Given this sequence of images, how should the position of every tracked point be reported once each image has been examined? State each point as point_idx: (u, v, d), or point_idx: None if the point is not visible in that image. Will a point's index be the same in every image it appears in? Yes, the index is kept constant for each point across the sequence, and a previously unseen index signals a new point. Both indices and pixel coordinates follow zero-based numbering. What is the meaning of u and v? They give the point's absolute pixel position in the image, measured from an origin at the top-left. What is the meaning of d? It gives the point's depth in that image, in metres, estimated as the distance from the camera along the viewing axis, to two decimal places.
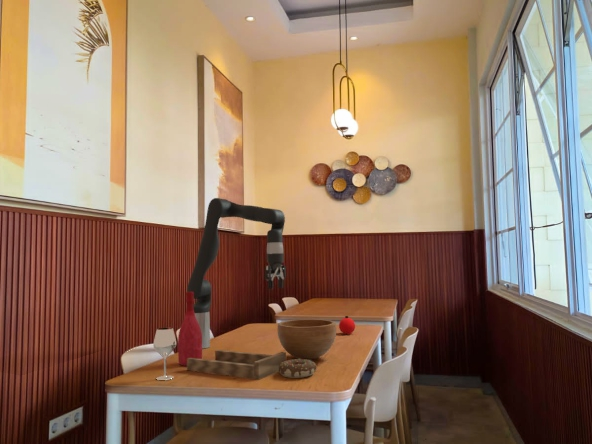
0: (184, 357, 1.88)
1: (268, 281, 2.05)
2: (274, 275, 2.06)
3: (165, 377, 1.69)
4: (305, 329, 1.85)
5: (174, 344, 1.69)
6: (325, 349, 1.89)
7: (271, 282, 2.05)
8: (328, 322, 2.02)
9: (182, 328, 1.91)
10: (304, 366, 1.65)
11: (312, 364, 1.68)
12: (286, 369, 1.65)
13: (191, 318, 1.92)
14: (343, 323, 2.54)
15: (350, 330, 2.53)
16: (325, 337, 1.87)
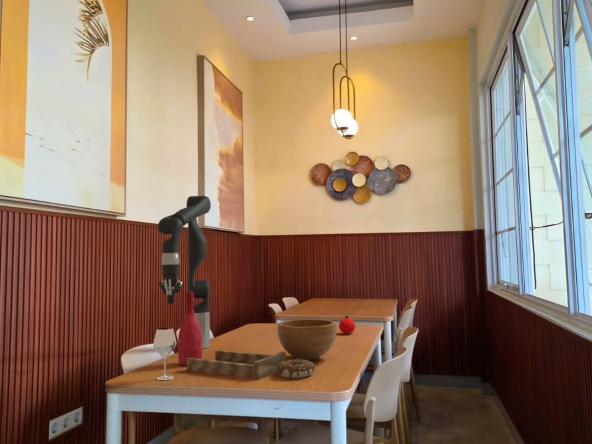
0: (184, 357, 1.88)
1: (172, 295, 1.99)
2: None
3: (165, 377, 1.69)
4: (305, 329, 1.85)
5: (174, 344, 1.69)
6: (325, 349, 1.89)
7: None
8: (328, 322, 2.02)
9: (182, 328, 1.91)
10: (302, 366, 1.65)
11: (310, 364, 1.68)
12: (284, 369, 1.65)
13: (191, 318, 1.92)
14: (343, 323, 2.54)
15: (350, 330, 2.53)
16: (325, 337, 1.87)
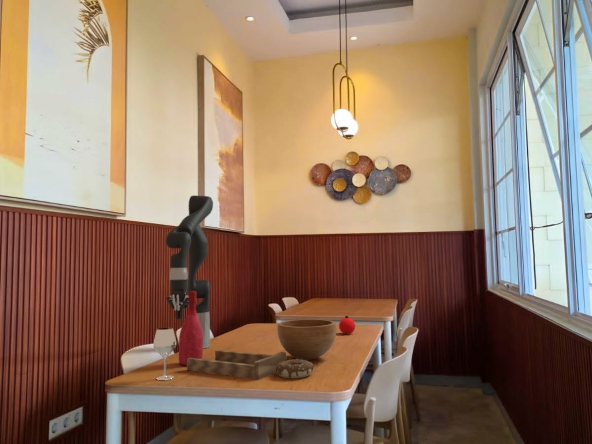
0: (185, 357, 1.88)
1: (180, 311, 1.96)
2: None
3: (165, 377, 1.69)
4: (305, 329, 1.85)
5: (174, 344, 1.69)
6: (325, 349, 1.89)
7: None
8: (328, 322, 2.02)
9: (183, 327, 1.90)
10: (301, 366, 1.65)
11: (309, 364, 1.68)
12: (283, 369, 1.65)
13: (193, 318, 1.91)
14: (343, 323, 2.54)
15: (350, 330, 2.53)
16: (325, 337, 1.87)
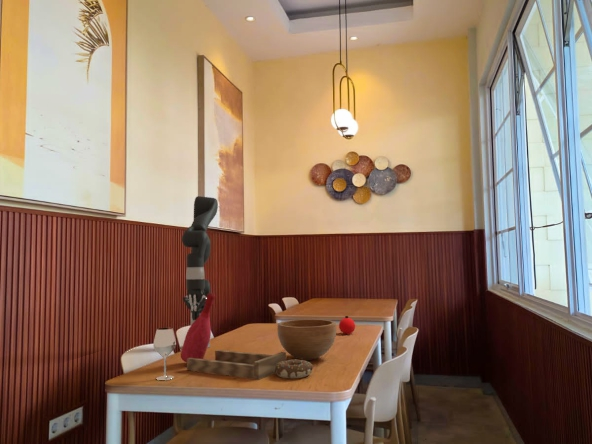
0: (187, 355, 1.87)
1: (197, 311, 1.91)
2: (200, 304, 1.94)
3: (165, 377, 1.69)
4: (305, 329, 1.85)
5: (174, 344, 1.69)
6: (325, 349, 1.89)
7: None
8: (328, 322, 2.02)
9: (193, 327, 1.87)
10: (300, 367, 1.65)
11: (308, 365, 1.68)
12: (282, 369, 1.65)
13: (205, 321, 1.87)
14: (343, 323, 2.54)
15: (350, 330, 2.53)
16: (325, 337, 1.87)
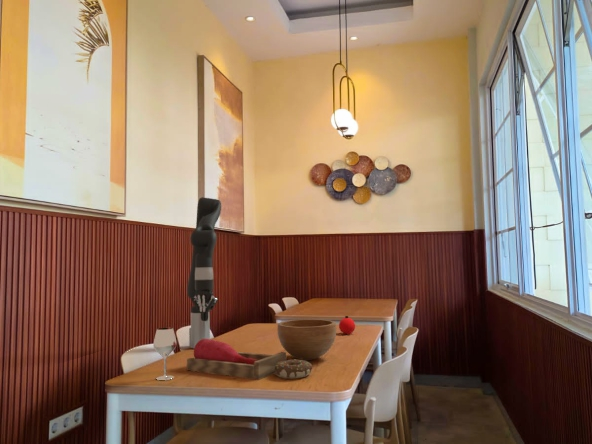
0: None
1: (206, 312, 1.89)
2: (209, 304, 1.91)
3: (165, 377, 1.69)
4: (305, 329, 1.85)
5: (174, 344, 1.69)
6: (325, 349, 1.89)
7: None
8: (328, 322, 2.02)
9: (220, 360, 1.77)
10: (300, 367, 1.64)
11: (308, 365, 1.67)
12: (282, 369, 1.64)
13: None
14: (343, 323, 2.54)
15: (350, 330, 2.53)
16: (325, 337, 1.87)
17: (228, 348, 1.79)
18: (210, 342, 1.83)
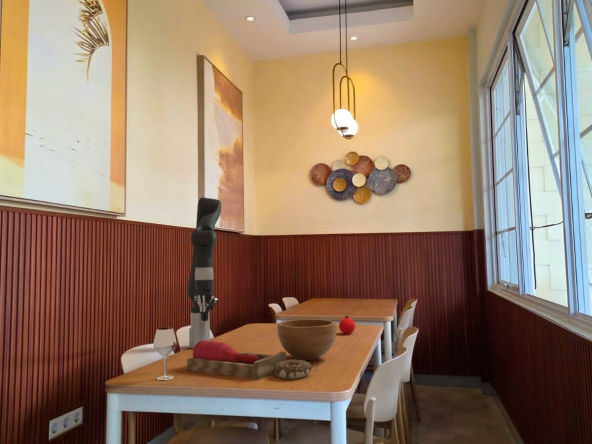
0: None
1: (206, 312, 1.89)
2: (209, 304, 1.91)
3: (165, 377, 1.69)
4: (305, 329, 1.85)
5: (174, 344, 1.69)
6: (325, 349, 1.89)
7: None
8: (328, 322, 2.02)
9: (220, 359, 1.77)
10: (299, 367, 1.64)
11: (307, 365, 1.67)
12: (281, 370, 1.64)
13: None
14: (343, 323, 2.54)
15: (350, 330, 2.53)
16: (325, 337, 1.87)
17: (227, 347, 1.79)
18: (208, 343, 1.83)
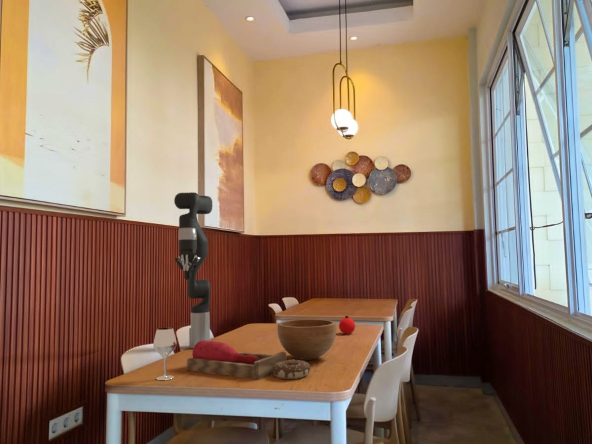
0: None
1: (189, 271, 1.95)
2: None
3: (165, 377, 1.69)
4: (305, 329, 1.85)
5: (174, 344, 1.69)
6: (325, 349, 1.89)
7: None
8: (328, 322, 2.02)
9: (219, 359, 1.77)
10: (298, 367, 1.64)
11: (306, 365, 1.67)
12: (280, 370, 1.64)
13: None
14: (343, 323, 2.54)
15: (350, 330, 2.53)
16: (325, 337, 1.87)
17: (226, 347, 1.79)
18: (208, 343, 1.83)
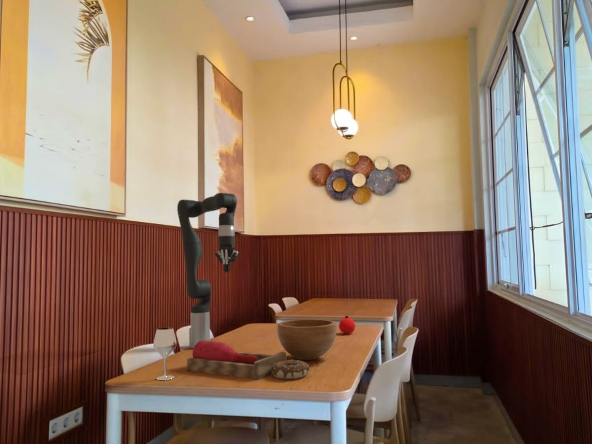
0: None
1: (228, 264, 2.15)
2: None
3: (165, 377, 1.69)
4: (305, 329, 1.85)
5: (174, 344, 1.69)
6: (325, 349, 1.89)
7: None
8: (328, 322, 2.02)
9: (219, 359, 1.77)
10: (297, 367, 1.64)
11: (305, 365, 1.67)
12: (278, 370, 1.64)
13: None
14: (343, 323, 2.54)
15: (350, 330, 2.53)
16: (325, 337, 1.87)
17: (226, 347, 1.79)
18: (208, 343, 1.83)
